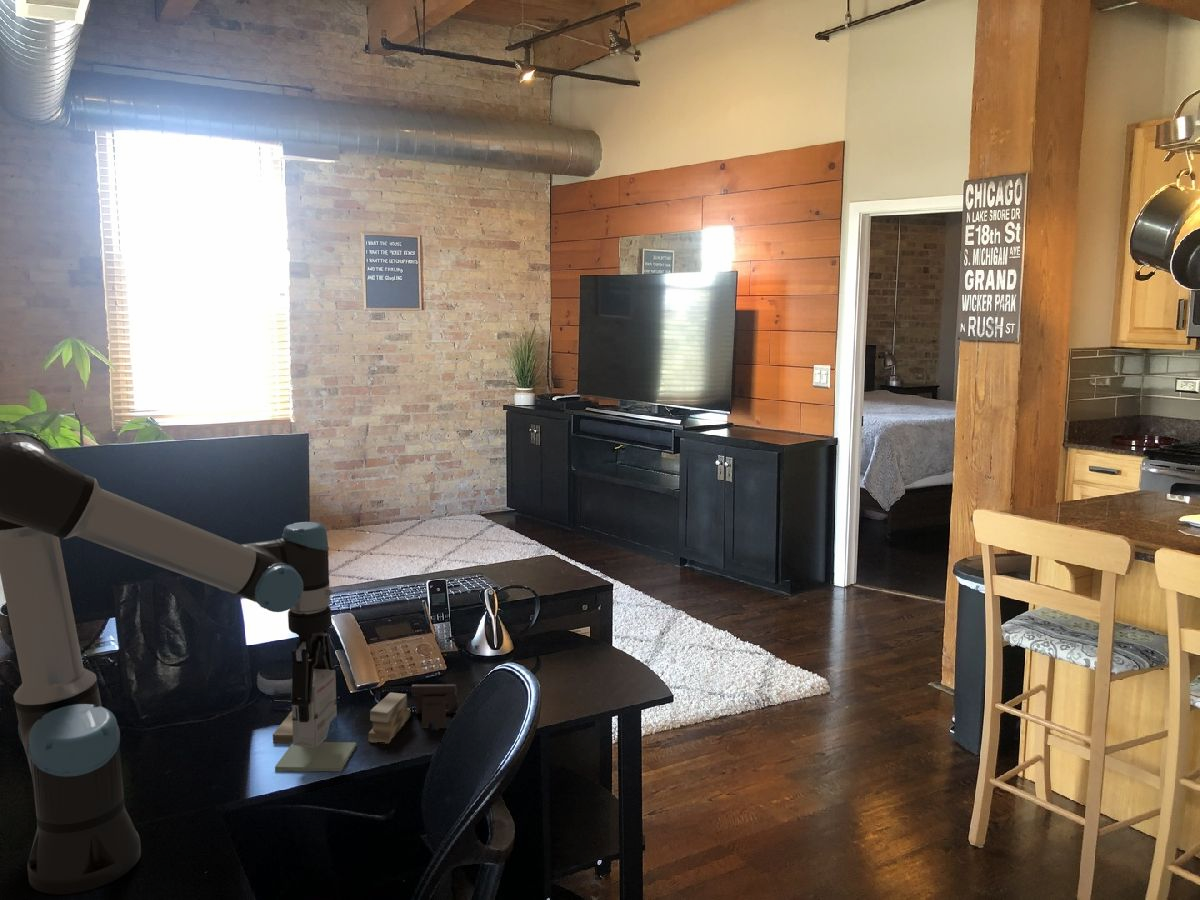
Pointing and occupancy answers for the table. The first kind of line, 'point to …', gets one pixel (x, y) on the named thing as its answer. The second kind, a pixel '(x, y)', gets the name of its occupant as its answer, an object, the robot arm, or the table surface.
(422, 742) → the table surface
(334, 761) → the sage mat
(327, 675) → the ink box
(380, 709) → the offcut stack
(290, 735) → the wooden bookend
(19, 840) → the table surface
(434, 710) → the portable electronic device stand
